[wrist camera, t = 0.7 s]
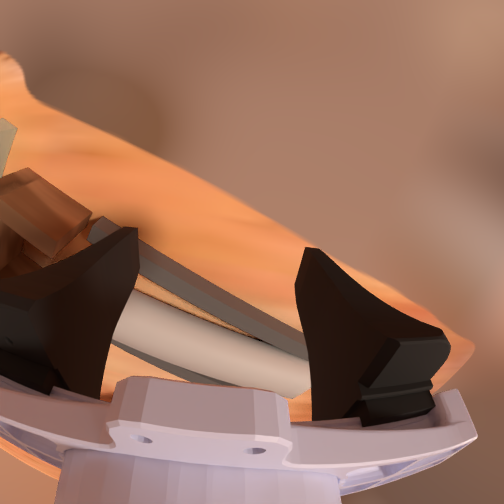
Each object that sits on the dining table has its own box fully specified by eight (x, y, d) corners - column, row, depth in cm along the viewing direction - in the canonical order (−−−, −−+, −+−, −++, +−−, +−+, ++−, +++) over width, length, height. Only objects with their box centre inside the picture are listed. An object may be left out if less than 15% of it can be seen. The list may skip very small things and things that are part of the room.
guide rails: (262, 395, 32) (264, 408, 30) (68, 300, 24) (60, 312, 22) (323, 343, 29) (328, 356, 27) (102, 216, 21) (93, 224, 19)
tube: (332, 371, 25) (68, 265, 18) (304, 412, 26) (52, 323, 19) (310, 347, 31) (88, 253, 23) (287, 385, 31) (72, 302, 24)
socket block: (61, 294, 24) (34, 331, 18) (6, 252, 21) (-27, 281, 16) (92, 212, 21) (56, 241, 15) (27, 167, 18) (-16, 184, 13)
